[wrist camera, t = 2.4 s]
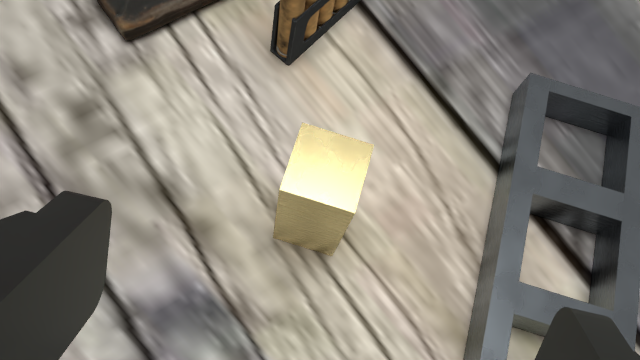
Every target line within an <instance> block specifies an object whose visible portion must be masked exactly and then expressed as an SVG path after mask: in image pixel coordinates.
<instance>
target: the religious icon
mask: <svg viewBox="0 0 640 360" xmlns="http://www.w3.org/2000/svg"><path fill="white" fill-rule="evenodd" d="M97 1H98V2H99V4H100V5H101V7H102V8H103V10H104V11H105V12H106V13H107V15H108V16H109V18H110V19H111V20H112V22H113V24H114V26H115V27H116V28H117V30H118V31H119V32H120V34H121V35H122V36H123V37H124V39H125V40H127V41H128V40H133V39H135V38H137V37H139V36H141V35H143V34H146V33H148V32H150V31H152V30H155V29H157V28H159V27H161V26H163V25H165V24H167V23H170V22H171V21H173V20H175V19H177V18H179V17H182V16H184V15H186V14H189V13H190V12H192V11H194V10H196V9H199V8H201V7H203V6H205V5H207V4H209V3H212V2H214V1H216V0H97Z"/></svg>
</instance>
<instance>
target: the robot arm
mask: <svg viewBox="0 0 640 360" xmlns="http://www.w3.org/2000/svg"><path fill="white" fill-rule="evenodd" d="M111 216H112V208H111V204H110V202H109V201H108V200H104V199H100V198H96V197H91V196H87V195H83V194H78V193H74V192H70V191H63V192H61V193H60V194H59V195H58V196H56V197H55V198H54V199H53V200H51V201H50V202H49V203H48V204H47V205H45V206H44V207H43V208H42V209H40V210H39V211H38V212H37V213H33V212H29V211H24V212H21V213H18V214H15V215H12V216H9V217H7V218H4V219H1V220H0V360H59V358H60V357H61V356H62V354H63V353H64V352H65V350H66V349H67V347H68V346H69V345H70V343H71V342H72V341H73V339H74V338H75V337H76V335H77V334H78V333H79V331H80V330H81V328H82V327H83V326H84V324H85V323H86V322H87V320H88V319H89V318H90V316H91V315H92V313H93V312H94V310H95V309H96V307H97V305H98V302H99V300H100V297H101V294H102V291H103V288H104V283H105V278H106V268H107V258H108V247H109V237H110V227H111ZM535 360H640V355H639V354H637V353H636V352H635V351H633V350H632V349H631V347H630V346H629V344H628V343H627V341H626V340H625V338H624V337H623V335H622V334H621V332H620V331H619V329H618V328H617V326H616V325H615V323H614V322H613V320H612V319H611V318H609V317H607V316H604V315H599V314H595V313H591V312H586V311H582V310H578V309H573V308H569V307H563V308H561V309H560V310H559V311H558V312H557V313H556V314H555V316H554V318H553V320H552V322H551V324H550V327H549V329H548V331H547V333H546V336H545V338H544V340H543V342H542V345H541V347H540V349H539V351H538V354H537V356H536V358H535Z"/></svg>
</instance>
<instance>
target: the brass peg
mask: <svg viewBox="0 0 640 360" xmlns="http://www.w3.org/2000/svg"><path fill="white" fill-rule="evenodd" d="M373 147H374V145H372V144H369V143H366V142H363V141H359V140H356V139H353V138H350V137H347V136H343V135H340V134H337V133H334V132H331V131H327V130H324V129H321V128H318V127H315V126H311V125H308V124H305V123H302V125H301V128H300V131H299V134H298V137H297V140H296V143H295V146H294V148H293V151H292V154H291V157H290V160H289V163H288V166H287V169H286V172H285V175H284V178H283V181H282V184H281V187H280V189H279V197H278V204H277V212H276V219H275V227H274V235H273V238H276V239H279V240H282V241H285V242H288V243H292V244H295V245H298V246H301V247H304V248H307V249H311V250H314V251H317V252H320V253H323V254H327V255H330V256H332V255H333V253H334V252H335V250H336V248H337V246H338V244H339V242H340V240H341V238H342V236H343V235H344V233H345V231H346V229H347V227H348V225H349V223H350V221H351V219H352V218H353V216H354V214H355V211H356V207H357V204H358V200H359V197H360V193H361V190H362V186H363V183H364V179H365V176H366V172H367V168H368V165H369V161H370V158H371V154H372V151H373Z"/></svg>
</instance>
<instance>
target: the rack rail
mask: <svg viewBox="0 0 640 360" xmlns="http://www.w3.org/2000/svg"><path fill="white" fill-rule="evenodd" d="M545 116H547V117H550V118H553V119H557V120H560V121H563V122H566V123H570V124H573V125H576V126H579V127H582V128H586V129H589V130H592V131H595V132H598V133H602V134H605V135H607V143H606V152H605V161H604V170H603V179H602V186H599V185H595V184H592V183H589V182H586V181H583V180H579V179H576V178H573V177H570V176H567V175H563V174H560V173H557V172H554V171H551V170H547V169H544V168H541V167H538V166H537V164H538V158H539V151H540V145H541V139H542V132H543V126H544V120H545ZM530 213H531V214H534V215H537V216H540V217H543V218H547V219H550V220H553V221H556V222H559V223H563V224H566V225H569V226H572V227H575V228H578V229H582V230H585V231H588V232H591V233H594V234H596V243H595V253H594V262H593V271H592V280H591V289H590V298H589V303H585V302H582V301H579V300H576V299H573V298H569V297H566V296H563V295H560V294H557V293H553V292H550V291H547V290H544V289H541V288H538V287H534V286H531V285H528V284H525V283H522V282H519V278H520V271H521V265H522V259H523V252H524V246H525V240H526V233H527V227H528V221H529V214H530ZM639 289H640V107H639V106H635V105H632V104H629V103H626V102H622V101H619V100H616V99H613V98H610V97H606V96H603V95H600V94H597V93H594V92H590V91H587V90H584V89H581V88H578V87H574V86H571V85H568V84H565V83H562V82H558V81H555V80H552V79H549V78H545V77H542V76H539V75H536V74H533V73H530V74H529V75H528V76H527V78H526V79H525V80H524V81H523V82H522V84H521V85H520V86H519V87H518V89H517V90H516V91H515V92H514V93H513V96H512V102H511V107H510V112H509V118H508V123H507V128H506V134H505V139H504V145H503V150H502V155H501V161H500V166H499V171H498V177H497V182H496V188H495V193H494V198H493V204H492V209H491V215H490V220H489V225H488V231H487V236H486V241H485V247H484V252H483V258H482V263H481V268H480V274H479V279H478V284H477V290H476V295H475V301H474V306H473V311H472V317H471V322H470V327H469V333H468V338H467V344H466V349H465V354H464V360H507V353H508V347H509V341H510V334H511V328H512V326H513V327H516V328H519V329H522V330H526V331H529V332H532V333H535V334H538V335H541V336H546V333H547V331H548V329H549V327H550V324H551V322H552V320H553V318H554V316H555V314H556V313H557V312H558V311H559V310H560V309H561V308H563V307H569V308H573V309H578V310H582V311H586V312H591V313H595V314H599V315H604V316H607V317H609V318H611V319H612V320H613V322H614V323H615V325H616V326H617V328H618V329H619V331H620V332H621V334H622V335H623V337H624V338H625V340H626V341H627V343H628V344H629V346H630V347H631V349H632V350H633V351H635V341H636V328H637V315H638V302H639Z"/></svg>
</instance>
